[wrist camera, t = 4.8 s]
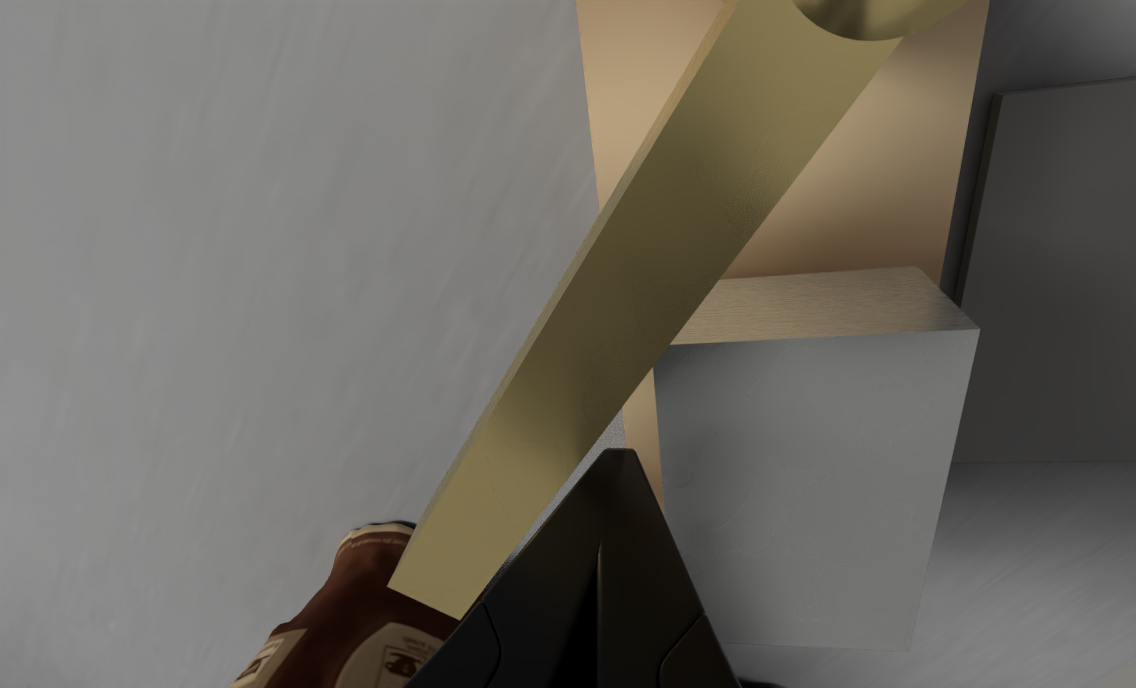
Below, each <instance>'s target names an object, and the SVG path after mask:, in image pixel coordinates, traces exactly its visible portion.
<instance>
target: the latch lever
mask: <svg viewBox="0 0 1136 688" xmlns="http://www.w3.org/2000/svg"><path fill="white" fill-rule="evenodd" d="M968 1H969V0H723V2H724V5H723V6H722V8H721V10H720V11H719V13H718V15H717V16H716V18H715V20H714V22H713V23H712V25H711V27H710V28H709V30H708V32H707V33H706V35H705V37H704V38H703V40H702V42H701V44H700V45H699V47H698V49H697V50H696V52H695V54H694V55H693V57H692V59H691V60H690V62H689V64H688V66H687V67H686V69H685V71H684V72H683V74H682V76H681V77H680V79H679V81H678V82H677V84H676V86H675V88H674V89H673V91H672V93H671V94H670V96H669V98H668V99H667V101H666V103H665V104H664V106H663V108H662V110H661V111H660V113H659V115H658V116H657V118H656V120H655V121H654V123H653V125H652V126H651V128H650V130H649V132H648V133H647V135H646V137H645V138H644V140H643V142H642V143H641V145H640V147H639V148H638V150H637V152H636V154H635V155H634V157H633V159H632V160H631V162H630V164H629V165H628V167H627V169H626V170H625V172H624V174H623V176H622V177H621V179H620V181H619V182H618V184H617V186H616V187H615V189H614V191H613V192H612V194H611V196H610V198H609V199H608V201H607V203H606V204H605V206H604V208H603V209H602V211H601V213H600V215H599V216H598V218H597V220H596V221H595V223H594V225H593V226H592V228H591V230H590V231H589V233H588V235H587V237H586V238H585V240H584V242H583V243H582V245H581V247H580V248H579V250H578V252H577V253H576V255H575V257H574V259H573V260H572V262H571V264H570V265H569V267H568V269H567V270H566V272H565V274H564V275H563V277H562V279H561V281H560V282H559V284H558V286H557V287H556V289H555V291H554V292H553V294H552V296H551V297H550V299H549V301H548V303H547V304H546V306H545V308H544V309H543V311H542V313H541V314H540V316H539V318H538V319H537V321H536V323H535V325H534V326H533V328H532V330H531V331H530V333H529V335H528V336H527V338H526V340H525V341H524V343H523V345H522V347H521V348H520V350H519V352H518V353H517V355H516V357H515V358H514V360H513V362H512V363H511V365H510V367H509V369H508V370H507V372H506V374H505V375H504V377H503V379H502V380H501V382H500V384H499V385H498V387H497V389H496V391H495V392H494V394H493V396H492V397H491V399H490V401H489V402H488V404H487V406H486V407H485V409H484V411H483V413H482V414H481V416H480V418H479V419H478V421H477V423H476V424H475V426H474V428H473V429H472V431H471V433H470V435H469V436H468V438H467V440H466V441H465V443H464V445H463V446H462V448H461V450H460V452H459V453H458V455H457V457H456V458H455V460H454V462H453V463H452V465H451V467H450V468H449V470H448V472H447V474H446V475H445V477H444V479H443V480H442V482H441V484H440V485H439V487H438V489H437V490H436V492H435V494H434V496H433V497H432V499H431V501H430V502H429V504H428V506H427V507H426V509H425V511H424V512H423V514H422V516H421V518H420V520H419V522H418V524H417V526H416V528H415V530H414V532H413V534H412V536H411V538H410V540H409V542H408V544H407V546H406V548H405V551H404V553H403V555H402V557H401V559H400V561H399V563H398V565H397V567H396V569H395V571H394V573H393V575H392V577H391V579H390V581H389V584H388V586H387V587H389V588H391V589H393V590H396V591H398V592H400V593H402V594H404V595H406V596H408V597H411V598H413V599H415V600H417V601H419V602H421V603H423V604H426V605H428V606H430V607H432V608H434V609H436V610H438V611H441V612H443V613H445V614H447V615H449V616H451V617H453V618H456V619H458V620H461V618H462V617H463V616H464V614H465V613H466V612H467V610H468V609H469V608H470V607H471V605H472V604H473V603H474V601H475V600H476V599H477V597H478V596H479V595H480V593H481V592H482V591H483V589H484V588H485V587H486V586H487V584H488V583H489V582H490V580H491V579H492V578H493V576H494V575H495V574H496V572H497V571H498V570H499V568H500V567H501V566H502V564H503V563H504V562H505V561H506V559H507V558H508V557H509V555H510V554H511V553H512V551H513V550H514V549H515V547H516V546H517V545H518V543H519V542H520V541H521V539H522V538H523V537H524V536H525V534H526V533H527V532H528V530H529V529H530V528H531V526H532V525H533V524H534V522H535V521H536V520H537V518H538V517H539V516H540V515H541V513H542V512H543V511H544V509H545V508H546V507H547V505H548V504H549V503H550V501H551V500H552V499H553V497H554V496H555V495H556V493H557V492H558V491H559V490H560V488H561V487H562V486H563V484H564V483H565V482H566V480H567V479H568V478H569V476H570V475H571V474H572V472H573V471H574V470H575V469H576V467H577V466H578V465H579V463H580V462H581V461H582V459H583V458H584V457H585V455H586V454H587V453H588V451H589V450H590V449H591V447H592V446H593V445H594V444H595V442H596V441H597V440H598V438H599V437H600V436H601V434H602V433H603V432H604V430H605V429H606V428H607V426H608V425H609V424H610V423H611V421H612V420H613V419H614V417H615V416H616V415H617V413H618V412H619V411H620V409H621V408H622V407H623V405H624V404H625V403H626V401H627V400H628V399H629V398H630V396H631V395H632V394H633V392H634V391H635V390H636V388H637V387H638V386H639V384H640V383H641V382H642V380H643V379H644V378H645V376H646V375H647V374H648V373H649V371H650V370H651V369H652V367H653V366H654V365H655V363H656V362H657V361H658V359H659V358H660V357H661V355H662V354H663V353H664V352H665V350H666V349H667V348H668V346H669V345H670V344H671V342H672V341H673V340H674V338H675V337H676V336H677V334H678V333H679V332H680V330H681V329H682V328H683V327H684V325H685V324H686V323H687V321H688V320H689V319H690V317H691V316H692V315H693V313H694V312H695V311H696V309H697V308H698V307H699V306H700V304H701V303H702V302H703V300H704V299H705V298H706V296H707V295H708V294H709V292H710V291H711V290H712V288H713V287H714V286H715V284H716V283H717V282H718V281H719V279H720V278H721V277H722V275H723V274H724V273H725V271H726V270H727V269H728V267H729V266H730V265H731V263H732V262H733V261H734V260H735V258H736V257H737V256H738V254H739V253H740V252H741V250H742V249H743V248H744V246H745V245H746V244H747V242H748V241H749V240H750V238H751V237H752V236H753V235H754V233H755V232H756V231H757V229H758V228H759V227H760V225H761V224H762V223H763V221H764V220H765V219H766V217H767V216H768V215H769V213H770V212H771V211H772V210H773V208H774V207H775V206H776V204H777V203H778V202H779V200H780V199H781V198H782V196H783V195H784V194H785V192H786V191H787V190H788V189H789V187H790V186H791V185H792V183H793V182H794V181H795V179H796V178H797V177H798V175H799V174H800V173H801V171H802V170H803V169H804V167H805V166H806V165H807V164H808V162H809V161H810V160H811V158H812V157H813V156H814V154H815V153H816V152H817V150H818V149H819V148H820V146H821V145H822V144H823V143H824V141H825V140H826V139H827V137H828V136H829V135H830V133H831V132H832V131H833V129H834V128H835V127H836V125H837V124H838V123H839V121H840V120H841V119H842V118H843V116H844V115H845V114H846V112H847V111H848V110H849V108H850V107H851V106H852V104H853V103H854V102H855V100H856V99H857V98H858V97H859V95H860V94H861V93H862V91H863V90H864V89H865V87H866V86H867V85H868V83H869V82H870V81H871V79H872V78H873V77H874V75H875V74H876V73H877V72H878V70H879V69H880V68H881V66H882V65H883V64H884V62H885V61H886V60H887V58H888V57H889V56H890V54H891V53H892V52H893V50H894V49H895V48H896V47H897V45H898V44H899V43H900V41H901V40H902V39H903V37H904V36H907V35H910V34H913V33H915V32H918V31H921V30H923V29H925V28H927V27H929V26H932V25H934V24H936V23H938V22H939V21H941V20H943V19H944V18H946V17H947V16H949V15H951V14H952V13H954V12H955V11H956V10H958V9H959V8H960V7H962V6H963V5H964V4H965V3H967V2H968Z"/></svg>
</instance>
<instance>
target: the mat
mask: <svg viewBox="0 0 1136 688" xmlns="http://www.w3.org/2000/svg"><path fill="white" fill-rule="evenodd" d="M954 303H955V304H956V305H957V306H958V307H959V308H960V309H961V310H962V311H963V312H964V313H965V314H966V315H967V316H968V317H969V318H970V319H971V320H972V321H973V322H974V323H975V324H976V325H977V326H978V327H979V328H980V333H979V337H978V342H977V346H976V351H975V355H974V360H973V365H972V369H971V374H970V378H969V383H968V387H967V392H966V396H965V401H964V405H963V410H962V414H961V419H960V423H959V428H958V432H957V437H956V441H955V446H954V450H953V455H952V459H951V463H995V462H1088V461H1136V76H1135V77H1127V78H1118V79H1110V80H1101V81H1093V82H1085V83H1076V84H1068V85H1059V86H1051V87H1043V88H1034V89H1026V90H1017V91H1009V92H1001V93H994V95H993V100H992V106H991V111H990V116H989V121H988V126H987V132H986V137H985V142H984V147H983V152H982V158H981V163H980V168H979V173H978V178H977V184H976V189H975V194H974V199H973V204H972V210H971V215H970V220H969V225H968V230H967V235H966V241H965V246H964V251H963V256H962V261H961V267H960V272H959V277H958V282H957V287H956V293H955V298H954Z"/></svg>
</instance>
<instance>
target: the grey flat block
mask: <svg viewBox="0 0 1136 688" xmlns="http://www.w3.org/2000/svg"><path fill="white" fill-rule="evenodd" d="M979 333H980V328H979V327H978V326H977V325H976V324H975V323H974V322H973V321H972V320H971V319H970V318H969V317H968V316H967V315H966V314H965V313H964V312H963V311H962V310H961V309H960V308H959V307H958V306H957V305H956V304H955V303H954V302H953V301H952V300H951V299H950V298H948V297H947V296H946V295H945V294H944V293H943V292H942V291H941V290H940V289H939V288H938V287H937V286H936V285H935V284H934V283H933V282H932V281H931V280H930V279H929V278H928V277H927V276H926V275H925V274H924V273H923V272H922V271H921V270H920V269H919V268H918V267H917V266H909V267H895V268H880V269H866V270H852V271H837V272H823V273H809V274H795V275H780V276H766V277H752V278H738V279H723V280H719V281H718V282H717V283H716V284H715V286H714V287H713V288H712V290H711V291H710V292H709V294H708V295H707V296H706V298H705V299H704V300H703V302H702V303H701V304H700V306H699V307H698V308H697V309H696V311H695V312H694V313H693V315H692V316H691V317H690V319H689V320H688V321H687V323H686V324H685V325H684V327H683V328H682V329H681V330H680V332H679V333H678V334H677V336H676V337H675V338H674V340H673V341H672V342H671V344H670V345H669V346H668V348H667V349H666V350H665V352H664V353H663V354H662V355H661V357H660V358H659V359H658V361H657V362H656V363H655V365H654V366H653V374H654V387H655V399H656V412H657V424H658V437H659V449H660V461H661V474H662V486H663V499H664V511H665V519H666V522H667V524H668V526H669V529H670V531H671V533H672V535H673V538H674V540H675V542H676V545H677V547H678V549H679V552H680V554H681V556H682V558H683V561H684V563H685V565H686V568H687V570H688V572H689V575H690V577H691V579H692V581H693V584H694V586H695V588H696V591H697V593H698V595H699V598H700V600H701V602H702V604H703V607H704V609H705V613H706V615H707V616H708V617H709V620H710V622H711V624H712V627H713V629H714V631H715V633H716V636H717V638H718V640H719V642H720V643H733V644H755V645H777V646H798V647H820V648H842V649H864V650H886V651H908V652H909V649H910V644H911V640H912V635H913V631H914V626H915V622H916V617H917V613H918V608H919V604H920V599H921V595H922V590H923V586H924V581H925V577H926V572H927V567H928V563H929V558H930V554H931V549H932V545H933V540H934V536H935V531H936V527H937V522H938V518H939V513H940V509H941V504H942V500H943V495H944V491H945V486H946V482H947V477H948V473H949V468H950V464H951V459H952V455H953V450H954V446H955V441H956V437H957V432H958V428H959V423H960V419H961V414H962V410H963V405H964V401H965V396H966V392H967V387H968V383H969V378H970V374H971V369H972V365H973V360H974V355H975V351H976V346H977V342H978V337H979Z"/></svg>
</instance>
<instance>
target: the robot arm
mask: <svg viewBox="0 0 1136 688" xmlns="http://www.w3.org/2000/svg"><path fill="white" fill-rule="evenodd" d="M482 600H483V602H482V601H480V602H478V603H477V604H476V606H475V607H474V608H473V609H472V610H471V612H470V613H469V614H468V615H467V617H466V618H465V619H464V620H463V621H462V623H461V624H460V625H459V626H458V627H457V628H456V629H455V631H454V632H453V633H452V634H451V635H450V636H449V638H448V639H447V640H446V641H445V642H444V643H443V644H442V646H441V647H440V648H439V649H438V650H437V651H436V652H435V653H434V654H433V656H432V657H431V658H430V659H429V660H428V661H427V662H426V663H425V664H424V665H423V666H422V667H421V668H420V669H419V670H418V671H417V672H416V673H415V674H414V675H413V676H412V677H411V678H410V679H409V681H408V682H407V683H406V684H405V685H404V686H403V687H402V688H770V687H759V686H742V685H740V683H739V681H738V679H737V678H736V676H735V674H734V672H733V670H732V667H731V665H730V663H729V661H728V659H727V657H726V655H725V653H724V651H723V649H722V647H721V644H720V642H719V640H718V638H717V636H716V633H715V631H714V629H713V627H712V624H711V622H710V620H709V617H708V616H707V615H706V613H705V609H704V607H703V604H702V602H701V600H700V598H699V595H698V593H697V591H696V588H695V586H694V584H693V581H692V579H691V577H690V575H689V572H688V570H687V568H686V565H685V563H684V561H683V558H682V556H681V554H680V552H679V549H678V547H677V545H676V542H675V540H674V538H673V535H672V533H671V531H670V529H669V526H668V524H667V522H666V519H665V517H664V515H663V512H662V510H661V508H660V506H659V503H658V501H657V499H656V496H655V494H654V492H653V489H652V487H651V485H650V483H649V480H648V478H647V476H646V473H645V471H644V469H643V466H642V464H641V462H640V460H639V457H638V455H637V453H636V451H635V450H634V449H632V448H607V449H605V450H603V451H602V453H601V454H600V455H599V456H598V457H597V459H596V460H595V461H594V462H593V464H592V465H591V466H590V467H589V468H588V470H587V471H586V472H585V473H584V475H583V476H582V477H581V478H580V479H579V481H578V482H577V483H576V484H575V485H574V487H573V488H572V489H571V490H570V492H569V493H568V494H567V495H566V496H565V498H564V499H563V500H562V501H561V503H560V504H559V505H558V506H557V507H556V509H555V510H554V511H553V512H552V513H551V515H550V516H549V517H548V518H547V520H546V521H545V522H544V523H543V524H542V526H541V527H540V528H539V529H538V531H537V532H536V533H535V534H534V535H533V537H532V538H531V539H530V540H529V541H528V543H527V544H526V545H525V546H524V548H523V549H522V550H521V551H520V552H519V554H518V555H517V556H516V557H515V559H514V560H513V561H512V562H511V563H510V565H509V566H508V567H507V568H506V569H505V571H504V572H503V573H502V574H501V576H500V577H499V578H498V579H497V580H496V582H495V583H494V584H493V585H492V587H491V588H490V589H489V590H488V591H487V593H486V594H485V595H484V596H483V598H482Z"/></svg>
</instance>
